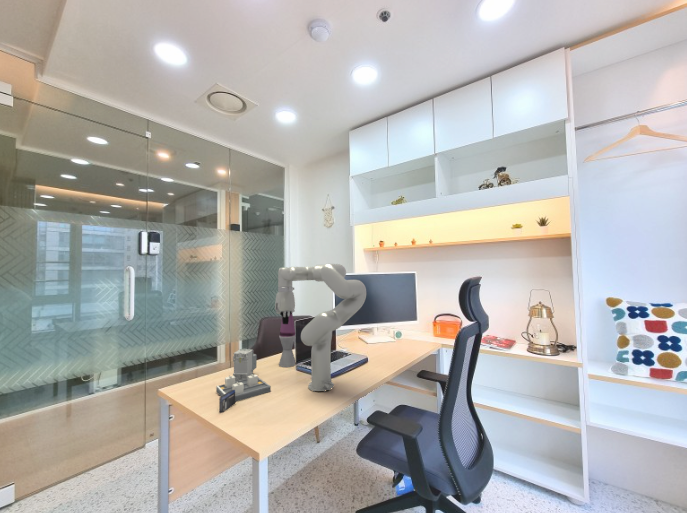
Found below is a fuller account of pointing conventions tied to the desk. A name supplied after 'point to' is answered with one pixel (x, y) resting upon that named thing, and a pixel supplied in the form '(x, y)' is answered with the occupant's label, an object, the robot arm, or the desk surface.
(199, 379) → the desk surface
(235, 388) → the tab
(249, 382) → the tab
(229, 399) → the mini dv tape
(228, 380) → the tab
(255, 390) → the switch bank
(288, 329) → the lamp
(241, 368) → the circuit breaker
